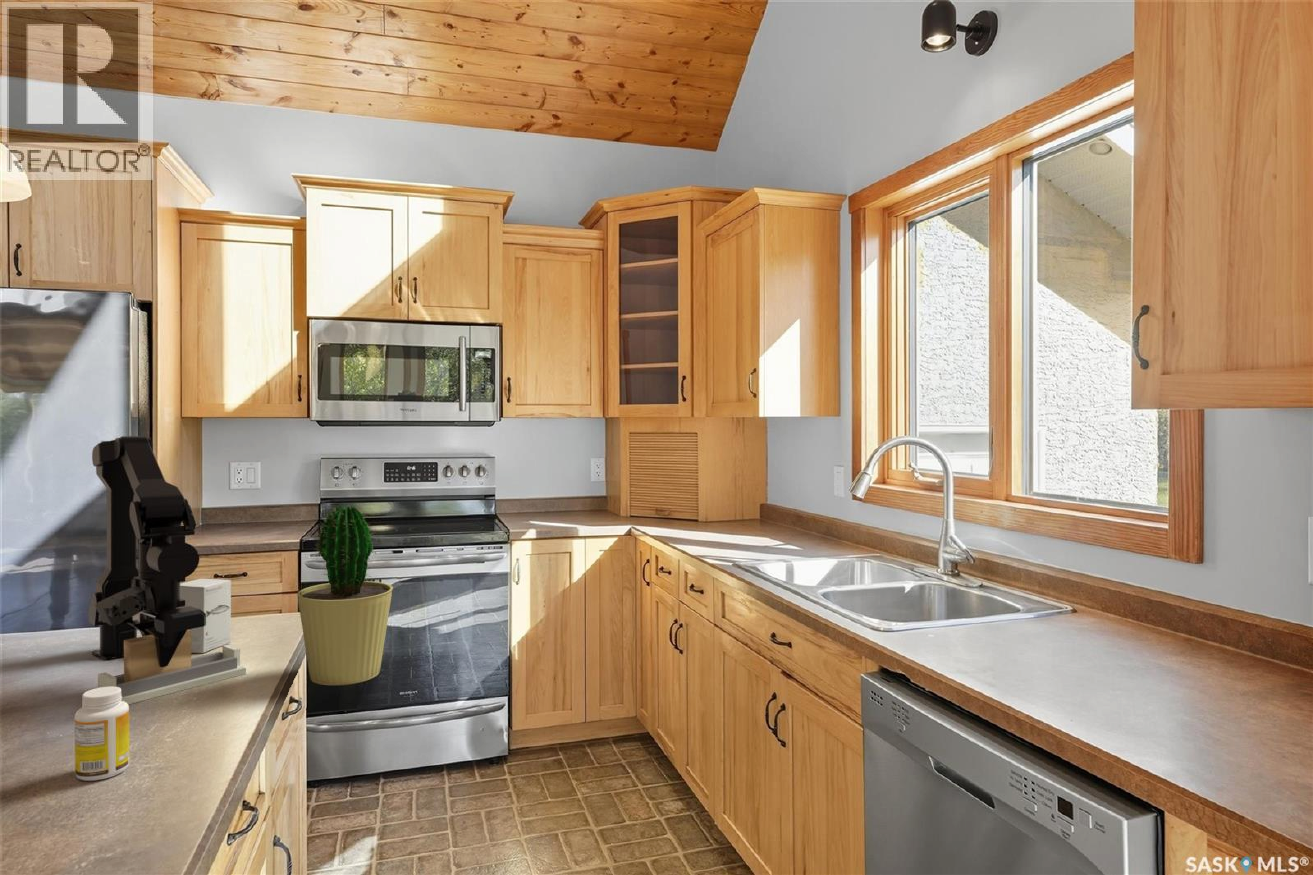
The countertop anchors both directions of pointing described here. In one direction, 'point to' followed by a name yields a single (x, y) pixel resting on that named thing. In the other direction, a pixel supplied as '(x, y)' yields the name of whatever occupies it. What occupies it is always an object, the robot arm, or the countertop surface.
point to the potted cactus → (345, 605)
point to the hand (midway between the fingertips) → (159, 665)
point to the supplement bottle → (101, 734)
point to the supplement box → (209, 612)
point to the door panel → (153, 657)
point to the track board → (179, 676)
